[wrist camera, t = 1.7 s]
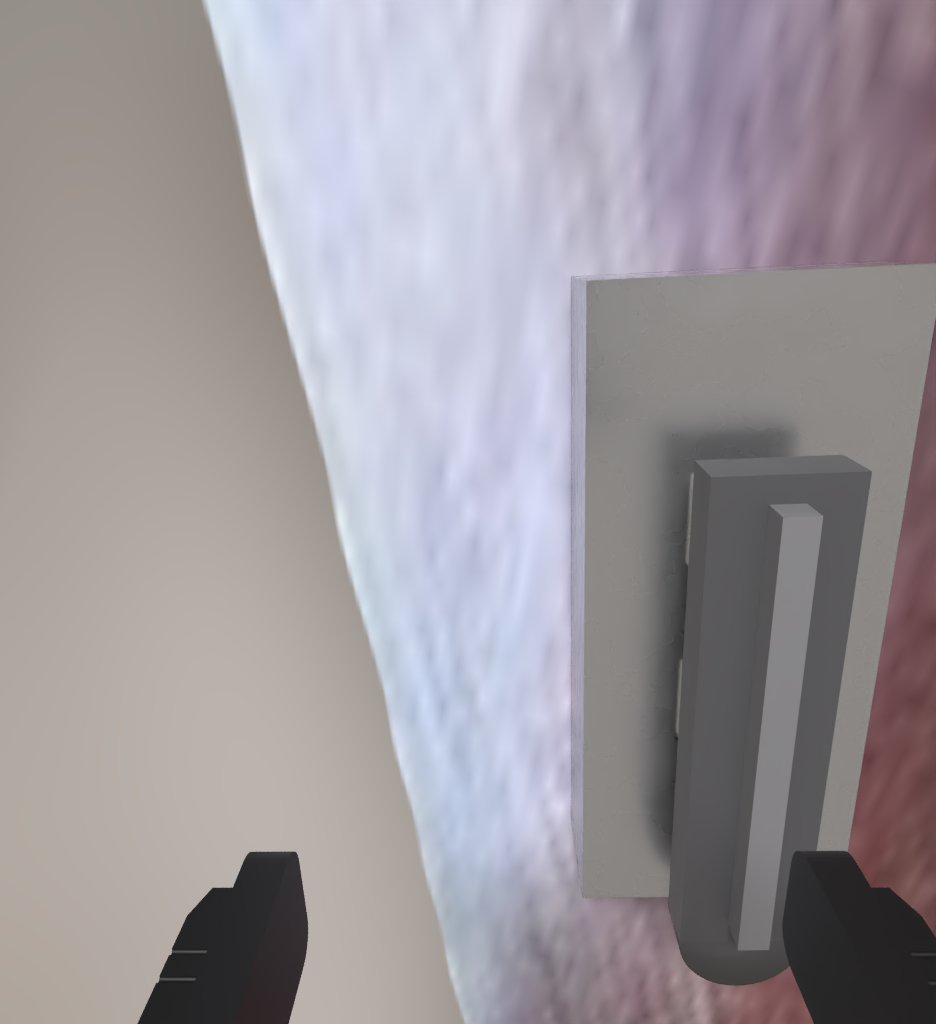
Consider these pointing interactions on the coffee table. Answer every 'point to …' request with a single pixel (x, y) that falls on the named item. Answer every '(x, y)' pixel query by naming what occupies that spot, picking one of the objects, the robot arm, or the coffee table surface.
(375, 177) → the coffee table surface
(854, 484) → the bar
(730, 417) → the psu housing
